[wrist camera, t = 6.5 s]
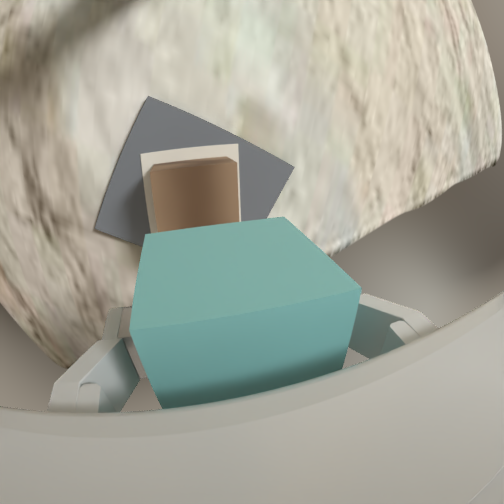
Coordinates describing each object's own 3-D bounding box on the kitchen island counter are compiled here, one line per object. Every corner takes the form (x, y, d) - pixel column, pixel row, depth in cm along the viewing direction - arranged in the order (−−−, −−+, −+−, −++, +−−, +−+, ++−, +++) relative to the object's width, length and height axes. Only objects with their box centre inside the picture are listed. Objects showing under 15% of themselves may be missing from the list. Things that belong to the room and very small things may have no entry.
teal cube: (169, 342, 11) (180, 443, 7) (145, 234, 9) (129, 330, 5) (280, 322, 13) (329, 409, 8) (283, 216, 10) (361, 287, 6)
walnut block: (162, 233, 24) (161, 252, 20) (153, 164, 21) (149, 172, 18) (230, 224, 25) (240, 241, 22) (226, 156, 22) (237, 162, 19)
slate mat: (95, 226, 22) (94, 229, 22) (148, 96, 19) (148, 95, 18) (232, 276, 28) (234, 279, 28) (292, 166, 25) (295, 167, 24)
